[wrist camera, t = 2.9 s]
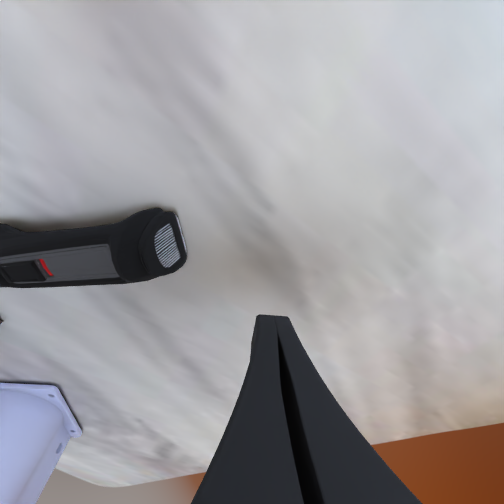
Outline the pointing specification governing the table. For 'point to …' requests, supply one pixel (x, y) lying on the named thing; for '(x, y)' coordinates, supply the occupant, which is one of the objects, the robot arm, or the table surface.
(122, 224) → the electric trimmer
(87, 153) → the table surface
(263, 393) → the robot arm
